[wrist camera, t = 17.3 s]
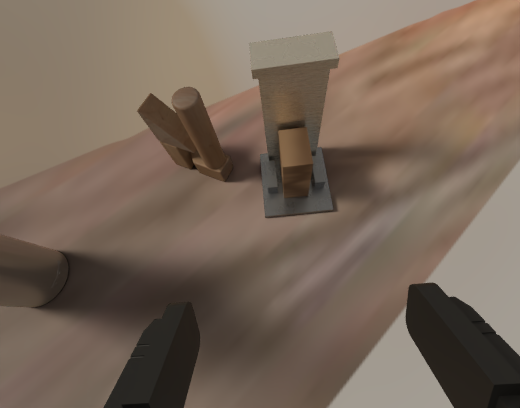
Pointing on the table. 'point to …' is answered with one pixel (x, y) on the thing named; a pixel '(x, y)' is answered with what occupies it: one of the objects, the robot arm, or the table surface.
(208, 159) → the wooden rod assembly
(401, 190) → the table surface
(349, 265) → the table surface
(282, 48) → the grey stand
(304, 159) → the brown rectangular block
